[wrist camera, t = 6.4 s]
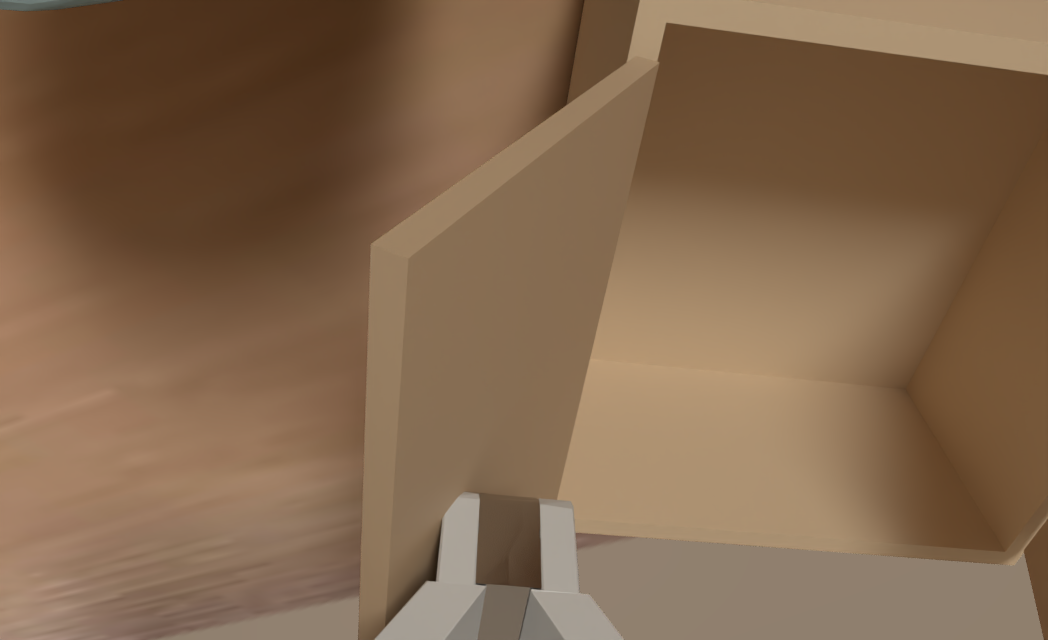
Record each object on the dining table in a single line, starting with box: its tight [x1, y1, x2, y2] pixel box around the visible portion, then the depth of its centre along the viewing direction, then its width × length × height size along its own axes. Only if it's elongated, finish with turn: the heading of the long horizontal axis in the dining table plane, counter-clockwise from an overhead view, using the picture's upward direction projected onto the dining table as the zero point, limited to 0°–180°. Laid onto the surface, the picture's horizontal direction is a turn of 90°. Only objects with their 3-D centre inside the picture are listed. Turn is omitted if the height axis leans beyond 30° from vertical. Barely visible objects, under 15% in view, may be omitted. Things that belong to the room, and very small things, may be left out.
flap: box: [358, 56, 660, 640], centre depth 13 cm, size 8×11×1 cm
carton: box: [557, 0, 1048, 565], centre depth 20 cm, size 13×13×7 cm
